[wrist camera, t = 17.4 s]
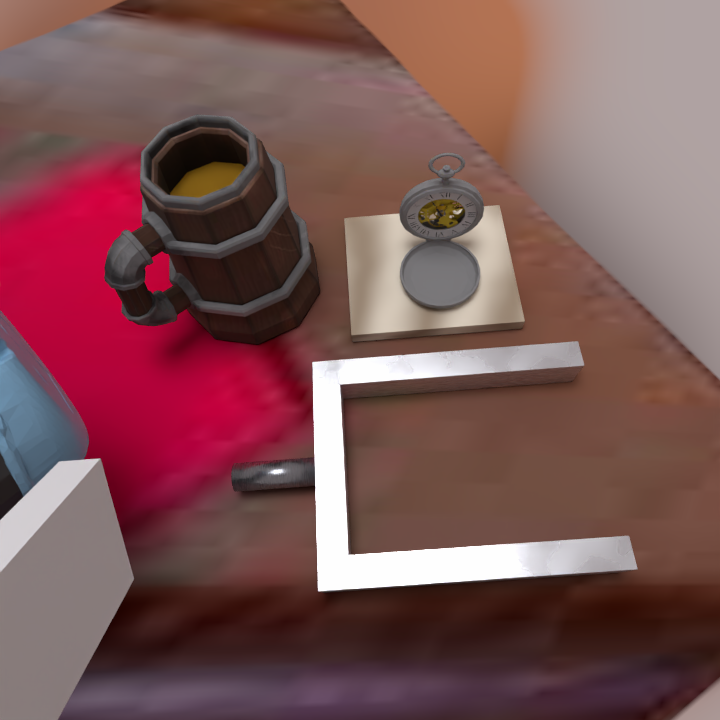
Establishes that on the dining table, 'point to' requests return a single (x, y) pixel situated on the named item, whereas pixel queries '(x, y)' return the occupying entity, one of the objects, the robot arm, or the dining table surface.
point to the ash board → (403, 314)
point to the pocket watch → (441, 239)
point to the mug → (216, 236)
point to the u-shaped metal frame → (435, 564)
